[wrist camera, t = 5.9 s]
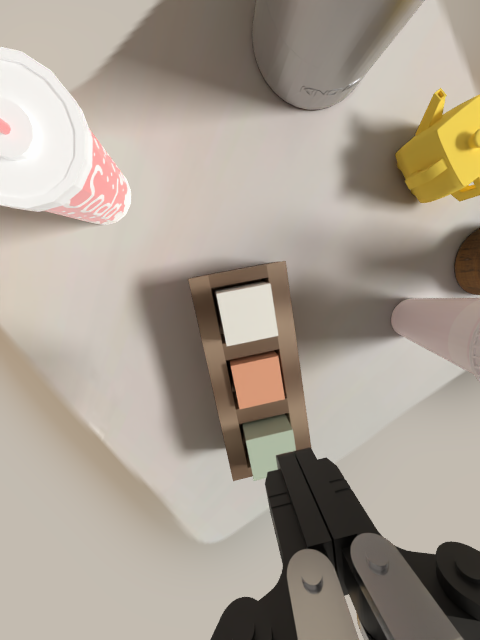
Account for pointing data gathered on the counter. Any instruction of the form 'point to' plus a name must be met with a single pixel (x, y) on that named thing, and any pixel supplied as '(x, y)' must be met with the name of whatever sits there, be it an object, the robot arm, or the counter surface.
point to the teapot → (444, 152)
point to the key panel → (221, 355)
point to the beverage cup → (52, 149)
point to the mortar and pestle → (469, 264)
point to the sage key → (267, 443)
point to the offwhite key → (247, 312)
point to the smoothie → (443, 328)
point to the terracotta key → (257, 379)
